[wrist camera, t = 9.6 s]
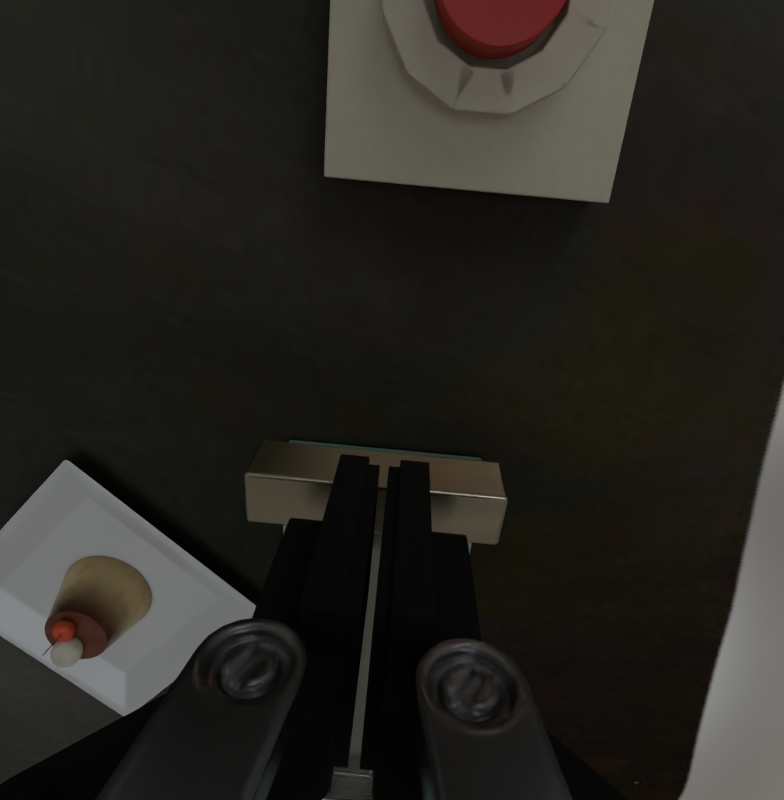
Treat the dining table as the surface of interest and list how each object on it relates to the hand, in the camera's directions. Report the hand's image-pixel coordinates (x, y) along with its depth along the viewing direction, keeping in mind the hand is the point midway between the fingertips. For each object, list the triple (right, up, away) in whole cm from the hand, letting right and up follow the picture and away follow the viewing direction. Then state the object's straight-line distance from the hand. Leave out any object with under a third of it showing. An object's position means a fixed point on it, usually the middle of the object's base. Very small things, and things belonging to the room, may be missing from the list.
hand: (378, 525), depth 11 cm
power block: (+3, +16, +9) cm, 18 cm away
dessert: (-15, -8, +19) cm, 25 cm away
